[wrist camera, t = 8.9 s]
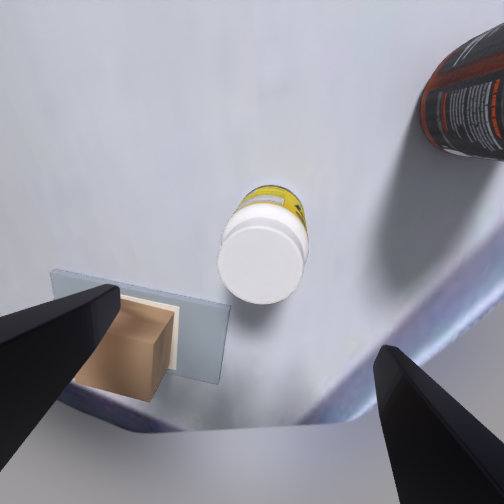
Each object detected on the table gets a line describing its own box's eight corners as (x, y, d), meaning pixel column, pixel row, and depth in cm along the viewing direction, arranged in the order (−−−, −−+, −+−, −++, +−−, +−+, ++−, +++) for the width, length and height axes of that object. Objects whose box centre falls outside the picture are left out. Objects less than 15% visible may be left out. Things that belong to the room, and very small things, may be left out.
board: (67, 345, 28) (62, 349, 28) (55, 269, 25) (49, 272, 24) (219, 379, 28) (217, 385, 27) (230, 305, 24) (228, 310, 23)
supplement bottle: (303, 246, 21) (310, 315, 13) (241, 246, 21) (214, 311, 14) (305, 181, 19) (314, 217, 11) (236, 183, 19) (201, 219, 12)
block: (104, 348, 27) (75, 382, 23) (102, 293, 24) (69, 322, 21) (169, 365, 27) (149, 402, 23) (174, 311, 24) (153, 344, 20)
